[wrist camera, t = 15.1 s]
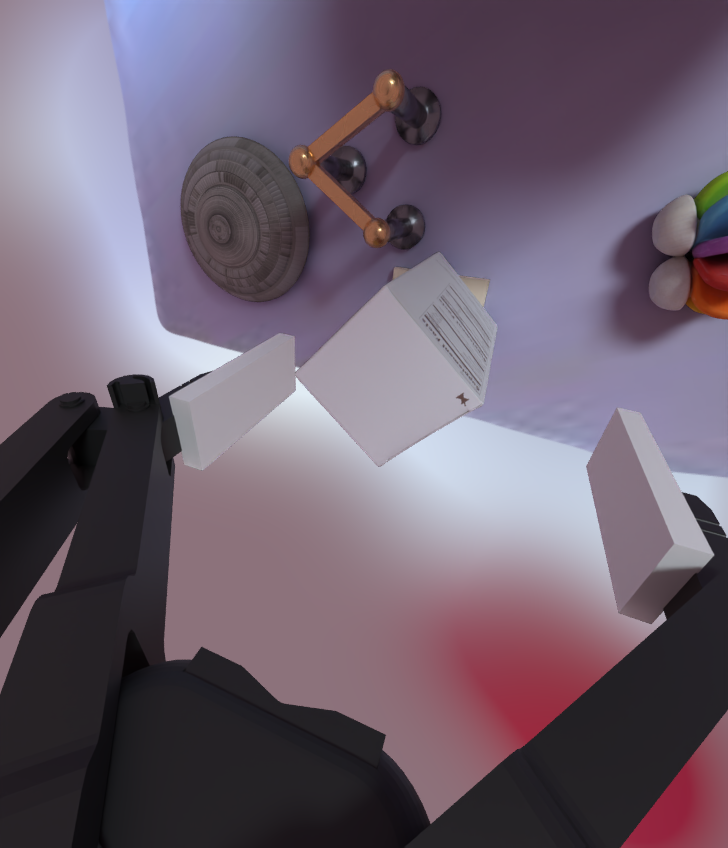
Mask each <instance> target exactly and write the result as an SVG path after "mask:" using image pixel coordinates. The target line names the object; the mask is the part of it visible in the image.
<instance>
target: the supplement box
mask: <svg viewBox="0 0 728 848" xmlns="http://www.w3.org/2000/svg"><path fill="white" fill-rule="evenodd" d="M497 328H498V327H497V325H496V323H495V322H494V321H493V319H492V318H491V317H490V316H489V314H488V313H487V312H486V310H485V309H484V308H483V306H482V305H481V304H480V302H479V301H478V300H477V298H476V297H475V296H474V294H473V293H472V292H471V291H470V289H469V288H468V287H467V285H466V284H465V283H464V282H463V280H462V279H461V278H460V276H459V275H458V274H457V273H456V271H455V270H454V269H453V268H452V266H451V265H450V264H449V263H448V261H447V260H446V259H445V257H444V256H443V255H442V254H441V253H440V252H437V253H435V254H433V255H432V256H430V257H429V258H427V259H426V260H424V261H423V262H421V263H419V264H418V265H416V266H415V267H413V268H412V269H410V270H408V271H407V272H405V273H403V274H402V275H400V276H399V277H397V278H395V279H394V280H392V281H391V282H389V283H387V284H386V285H384V286H383V287H382V288H381V289H380V290H379V291H378V292H377V293H376V294H375V295H374V296H373V297H372V298H371V299H370V300H369V301H368V302H367V303H366V304H365V305H364V306H363V307H362V308H360V309H359V310H358V311H357V312H356V313H355V314H354V315H353V316H352V317H351V318H350V319H349V320H348V321H347V322H346V323H345V324H344V325H343V326H342V327H341V328H340V329H339V330H338V331H337V332H336V333H335V334H334V335H333V336H332V337H331V338H330V339H329V340H328V341H327V342H326V343H325V344H324V345H323V346H322V347H321V348H320V349H319V350H318V351H317V352H316V353H315V354H314V355H313V356H312V357H311V358H310V359H309V360H308V361H307V362H306V363H305V364H304V365H303V366H302V367H300V368H299V369H298V370H297V371H296V372H295V376H296V377H297V378H298V379H299V381H300V382H301V383H302V384H303V385H304V386H305V387H306V388H307V390H308V391H309V392H310V393H311V394H312V395H313V396H314V397H315V398H316V400H317V401H318V402H319V403H320V404H321V405H322V406H323V407H324V408H325V409H326V410H327V411H328V412H329V413H330V415H331V416H332V417H333V418H334V419H335V420H336V421H337V422H338V423H339V424H340V426H341V427H342V428H343V429H344V430H345V431H346V432H347V433H348V434H349V435H350V437H351V438H352V439H353V440H354V441H355V442H356V443H357V444H358V445H359V446H360V447H361V449H362V450H363V451H364V452H365V453H366V454H367V455H368V456H369V457H370V458H371V459H372V460H373V461H374V463H375V464H376V465H377V466H378V467H380V466H382V465H383V464H385V463H386V462H388V461H389V460H391V459H392V458H394V457H395V456H397V455H399V454H400V453H402V452H403V451H405V450H406V449H408V448H409V447H411V446H413V445H414V444H415V443H417V442H419V441H421V440H422V439H424V438H426V437H427V436H429V435H431V434H432V433H434V432H436V431H437V430H439V429H441V428H443V427H444V426H446V425H448V424H450V423H451V422H453V421H455V420H456V419H458V418H460V417H462V416H464V415H465V414H467V413H469V412H471V411H473V410H475V409H477V408H479V407H481V406H482V405H483V404H484V399H485V394H486V388H487V383H488V378H489V372H490V366H491V360H492V355H493V350H494V344H495V338H496V333H497Z"/></svg>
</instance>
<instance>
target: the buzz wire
mask: <svg viewBox="0 0 728 848" xmlns="http://www.w3.org/2000/svg"><path fill="white" fill-rule="evenodd" d="M385 111H386V112H392V113H393V114H394V115H396V127H397V130H398V133H399V134H400V136H401V137H402V138H403V139H404V140H405V141H406V142H408V143H410V144H413V145H419V144H423V143H425V142H427V141H428V140H430V139H431V138H432V137H433V135H434V134H435V133H436V131H437V129H438V126H439V123H440V119H441V108H440V104H439V101H438V99H437V97H436V96H435V94H434V93H433V92H432V91H431V90H429V89H427V88H425V87H416V88H413V89H411V90H409V89H408V88H407V87H406V86H405V85H404V81H403V79H402V77H401V75H400V74H399V73H398V72H397V71H395V70H392V69H387V70H384V71H382V72H381V73H380V74H379V75H378V76H377V77H376V79H375V82H374V85H373V92H372V93H371V94H370V95H368V96H367V97H366V98H365V99H364V100H363V101H361V102H360V103H359V104H358V105H357V106H356V107H354V108H353V109H352V110H351V111H350V112H348V113H347V114H346V115H345V116H344V117H343V118H341V119H340V120H339V121H338V122H337V123H335V124H334V125H333V126H332V127H331V128H330V129H328V130H327V131H326V132H325V133H324V134H322V135H321V136H320V137H319V138H318V139H317V140H315V141H314V142H313V143H312V144H311V145H310V146H308V147H307V146H305V145H298V146H296V147H294V148H293V149H292V151H291V152H290V155H289V166H290V169H291V171H292V172H293V173H294V174H295V175H296V176H297V177H299V178H302V179H306V178H309V179H310V180H311V181H312V182H313V183H314V184H315V185H316V186H317V187H318V188H319V189H321V190H322V191H323V192H324V193H325V194H326V195H327V196H328V197H329V198H330V199H331V200H332V201H333V202H334V203H335V204H336V205H337V206H338V207H339V208H340V209H341V210H342V211H344V212H345V213H346V214H347V215H348V216H349V217H350V218H351V219H352V220H353V221H354V222H355V223H356V224H357V225H358V226H359V227H360V228H361V229H362V230H363V236H364V239H365V241H366V243H367V244H368V245H369V246H371V247H373V248H381V247H383V246H384V245H386V244H387V242H390V243H391V244H392V245H393V246H395V247H397V248H399V249H408V248H411V247H413V246H415V245H416V244H418V243H419V241H420V240H421V239H422V237H423V234H424V231H425V221H424V217H423V215H422V213H421V212H420V211H419V210H418V209H417V208H416V207H414V206H411V205H401V206H398V207H396V208H395V209H393V210H392V211H391V213H390V214H389V216H388V218H387V220H383V219H381V218H375V217H374V216H373V215H372V214H371V213H370V212H369V211H368V210H367V209H366V208H365V207H364V206H363V205H362V204H360V203H359V202H358V201H357V200H356V199H355V198H354V197H353V196H352V195H351V194H352V193H355V192H357V191H358V190H359V189H360V188H361V187H362V185H363V183H364V181H365V178H366V170H367V169H366V163H365V160H364V157H363V156H362V154H361V153H360V152H359V151H358V150H357V149H355V148H353V147H350V146H343V145H344V144H345V143H346V142H348V141H349V140H350V139H351V138H353V137H354V136H355V135H356V134H358V133H359V132H360V131H361V130H363V129H364V128H365V127H366V126H368V125H369V124H370V123H371V122H373V121H374V120H375V119H376V118H378V117H379V116H380V115H381V114H383V113H384V112H385ZM330 155H331V156H330Z"/></svg>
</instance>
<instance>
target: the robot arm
mask: <svg viewBox="0 0 728 848" xmlns="http://www.w3.org/2000/svg"><path fill="white" fill-rule="evenodd" d="M107 387H108V391H109V394H110V397H111V400H112V403H113V406H114V408H107V407H99V406H98V403H97V401H96V398H95V396H94V395H92V394H90V393H84V392H79V393H78V392H77V393H76V392H72V393H69V394H68V393H66V394H63V395H62V396H59V397H56V398H54V399H53V400H51V401H50V402H48V403H47V404H46V405H45V406H44V407H43V408H41V409H40V410H39V411H38V412H37V413H36V414H35V415H33V417H31V418H30V419H29V420H28V421H27V422H25V423H24V424H23V425H22V426H21V427H20V428H19V429H18V430H16V431H15V432H14V433H13V434H12V435H11V436H9V437H8V438H7V439H6V440H5V441H4V442H3V443H2V444H0V637H1V636H2V634H3V633H4V631H5V630H6V628H7V627H8V625H9V624H10V622H11V621H12V619H13V618H14V616H15V615H16V614H17V612H18V611H19V609H20V608H21V606H22V605H23V603H24V601H25V600H26V599H27V597H28V595H29V594H30V593H31V591H32V589H33V588H34V586H35V585H36V584H37V582H38V581H39V579H40V578H41V576H42V575H43V573H44V572H45V570H46V569H47V567H48V566H49V564H50V563H51V561H52V560H53V558H54V557H55V555H56V554H57V552H58V551H59V549H60V548H61V546H62V545H63V543H64V542H65V540H66V539H67V537H68V536H69V534H70V533H71V531H72V530H73V528H74V527H75V525H76V524H77V526H76V529H75V532H74V535H73V539H72V541H71V545H70V548H69V551H68V554H67V557H66V560H65V563H64V566H63V570H62V573H61V576H60V579H59V582H58V585H57V588H56V590H55V592H53V593H49V594H44V595H41V596H40V597H39V598H38V599H37V600H36V601H35V603H34V605H33V607H32V609H31V611H30V614H29V617H28V619H27V622H26V625H25V628H24V630H23V633H22V636H21V639H20V641H19V644H18V647H17V650H16V652H15V655H14V658H13V661H12V663H11V666H10V669H9V672H8V674H7V677H6V680H5V683H4V685H3V688H2V691H1V694H0V848H620V847H621V846H622V845H623V843H624V842H625V841H626V839H627V838H628V837H629V836H630V834H631V833H632V832H633V831H634V829H635V828H636V827H637V825H638V824H639V823H640V822H641V820H642V819H643V818H644V816H645V815H646V814H647V813H648V811H649V810H650V809H651V808H652V806H653V805H654V804H655V802H656V801H657V800H658V798H659V797H660V796H661V795H662V793H663V792H664V791H665V789H666V788H667V787H668V786H669V784H670V783H671V782H672V781H673V779H674V778H675V777H676V775H677V774H678V773H679V772H680V770H681V769H682V768H683V766H684V765H685V763H687V761H688V760H689V759H690V757H691V756H692V755H693V754H694V752H695V751H696V750H697V748H698V747H699V746H700V745H701V743H702V742H703V741H704V739H705V738H706V737H707V736H708V734H709V733H710V732H711V731H712V729H713V728H714V727H715V725H716V724H717V723H718V721H719V720H720V719H721V718H722V716H723V715H724V714H725V713H726V711H727V710H728V538H726V534H725V532H724V530H723V529H722V527H721V526H719V522H718V520H717V519H716V517H715V515H714V513H713V512H712V510H711V509H710V508H709V507H708V506H707V505H706V504H705V503H704V502H702V501H701V500H700V499H699V498H698V497H697V496H694V495H690V494H687V493H683V492H681V490H680V488H679V486H678V484H677V482H676V480H675V479H674V476H673V475H672V473H671V471H670V469H669V467H668V465H667V463H666V461H665V459H664V457H663V455H662V453H661V451H660V449H659V448H658V446H657V444H656V442H655V440H654V438H653V436H652V434H651V432H650V430H649V428H648V426H647V424H646V422H645V421H644V419H643V417H642V415H641V413H639V412H635V411H630V410H626V409H621V408H616V410H615V412H614V414H613V416H612V418H611V420H610V422H609V424H608V426H607V428H606V429H605V431H604V433H603V435H602V437H601V439H600V441H599V443H598V445H597V447H596V449H595V451H594V452H593V454H592V456H591V458H590V460H589V462H588V464H587V466H586V467H587V472H588V476H589V481H590V485H591V490H592V495H593V499H594V504H595V508H596V512H597V517H598V522H599V526H600V531H601V535H602V540H603V544H604V549H605V554H606V558H607V563H608V567H609V571H610V576H611V580H612V585H613V590H614V594H615V599H616V603H617V607H618V612H619V613H620V614H623V615H626V616H629V617H632V618H635V619H638V620H640V621H643V622H646V623H649V624H652V623H653V622H654V621H655V620H656V619H657V617H658V616H659V615H660V614H661V613H662V612H663V611H664V613H665V616H666V619H667V620H666V621H665V622H664V623H663V624H662V625H661V626H659V627H658V628H657V629H656V630H655V631H654V632H653V633H651V634H650V635H649V636H648V637H647V638H646V639H645V640H644V641H642V642H641V643H640V644H639V645H638V646H637V647H636V648H635V649H634V650H632V651H631V652H630V653H629V654H628V655H627V656H625V657H624V658H623V659H622V660H621V661H620V662H619V663H618V664H616V665H615V666H614V667H613V668H612V669H611V670H610V671H608V672H607V673H606V674H605V675H604V676H603V677H602V678H601V679H600V680H598V681H597V682H596V683H595V684H594V685H593V686H591V687H590V688H589V689H588V690H587V691H586V692H585V693H584V694H582V695H581V696H580V697H579V698H578V699H577V700H576V701H575V702H574V703H572V704H571V705H570V706H569V707H568V708H567V709H565V710H564V711H563V712H562V713H561V714H560V715H559V716H558V717H556V718H555V719H554V720H553V721H552V722H551V723H550V724H548V725H547V726H546V727H545V728H544V729H543V730H542V731H541V732H539V733H538V734H537V735H536V736H535V737H534V738H533V739H532V740H530V741H529V742H528V743H527V744H526V745H525V746H523V747H522V748H520V749H517V750H516V751H515V752H513V753H512V754H511V755H509V756H508V757H507V758H506V759H505V760H504V761H502V762H501V763H500V764H499V765H498V766H497V767H495V768H494V769H493V770H492V771H491V772H490V773H489V774H488V775H486V776H485V777H484V778H483V779H482V780H481V781H480V782H478V783H477V784H476V785H475V786H474V787H473V788H472V789H470V790H469V791H468V792H467V793H466V794H465V795H464V796H462V797H461V798H460V799H459V800H458V801H457V802H456V803H454V805H452V806H451V807H450V808H449V809H448V810H446V811H445V812H444V813H443V814H442V815H441V816H440V817H438V818H437V819H436V820H435V821H434V822H433V823H432V824H430V821H429V819H428V816H427V814H426V811H425V809H424V807H423V804H422V802H421V800H420V799H419V796H418V795H417V793H416V791H415V789H414V787H413V785H412V784H411V783H410V781H409V780H408V778H407V777H406V775H405V774H404V772H403V771H402V770H401V769H400V767H399V766H398V765H397V764H396V763H395V761H394V760H393V759H392V758H391V757H390V756H389V755H387V754H386V753H385V752H384V751H383V750H382V748H383V744H384V740H385V736H386V735H385V734H383V733H381V732H379V731H377V730H374V729H372V728H370V727H368V726H366V725H364V724H362V723H360V722H358V721H356V720H354V719H351V718H349V717H347V716H345V715H343V714H341V713H339V712H337V711H332V710H324V709H317V708H310V707H303V706H296V705H289V704H283V703H281V702H279V701H278V700H276V699H275V698H274V697H273V696H272V695H271V694H270V693H269V692H268V691H267V690H266V689H265V688H264V687H263V686H262V685H261V684H260V683H259V682H258V681H257V680H256V679H255V678H254V677H253V676H252V675H251V674H250V673H249V672H248V671H246V670H245V668H243V667H242V666H241V665H238V664H236V663H234V662H232V661H230V660H228V659H226V658H224V657H222V656H220V655H218V654H215V653H213V652H211V651H209V650H207V649H205V648H203V647H201V648H200V650H199V651H198V653H197V654H196V656H195V657H194V658H193V659H192V660H173V661H166V660H165V653H164V630H165V615H166V597H167V582H168V567H169V551H170V536H171V521H172V505H173V489H174V473H175V464H174V459H173V457H174V456H176V454H178V453H179V452H182V457H183V461H184V465H187V466H189V467H192V468H195V469H198V470H201V471H203V470H204V469H205V468H206V467H208V466H209V465H210V464H211V463H212V462H213V461H215V460H216V459H217V458H218V457H219V456H220V455H221V454H223V453H224V452H225V451H226V450H227V449H228V448H230V447H231V446H232V445H233V444H234V443H235V442H237V441H238V440H239V439H240V438H241V437H242V436H243V435H245V434H246V433H247V432H248V431H249V430H250V429H252V428H253V427H254V426H255V425H256V424H257V423H259V422H260V421H261V420H262V419H263V418H264V417H266V416H267V415H268V414H269V413H270V412H271V411H272V410H274V409H275V408H276V407H277V406H278V405H279V404H281V403H282V402H283V401H284V400H285V399H286V398H287V397H289V396H290V395H291V394H292V393H293V392H294V391H295V390H296V386H295V336H291V335H287V334H282V333H279V334H277V335H275V336H273V337H272V338H270V339H268V340H266V341H265V342H263V343H261V344H259V345H258V346H256V347H254V348H252V349H251V350H249V351H247V352H245V353H244V354H242V355H241V356H238V357H237V358H235V359H233V360H231V361H230V362H228V363H226V364H224V365H223V366H221V367H219V368H217V369H216V370H214V371H211V372H207V373H204V374H200V375H199V376H197V377H195V378H193V379H191V380H190V382H189V381H188V382H186V383H184V384H182V386H179V387H177V388H175V389H173V390H172V391H170V392H168V393H166V394H164V395H163V396H161V397H159V398H158V394H157V390H156V386H155V382H154V379H153V378H152V377H150V376H146V375H127V376H123V377H119V378H117V379H114V380H113V381H111V382H110V383H109V384H108V385H107ZM67 457H68V458H67ZM77 522H78V523H77Z"/></svg>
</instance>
